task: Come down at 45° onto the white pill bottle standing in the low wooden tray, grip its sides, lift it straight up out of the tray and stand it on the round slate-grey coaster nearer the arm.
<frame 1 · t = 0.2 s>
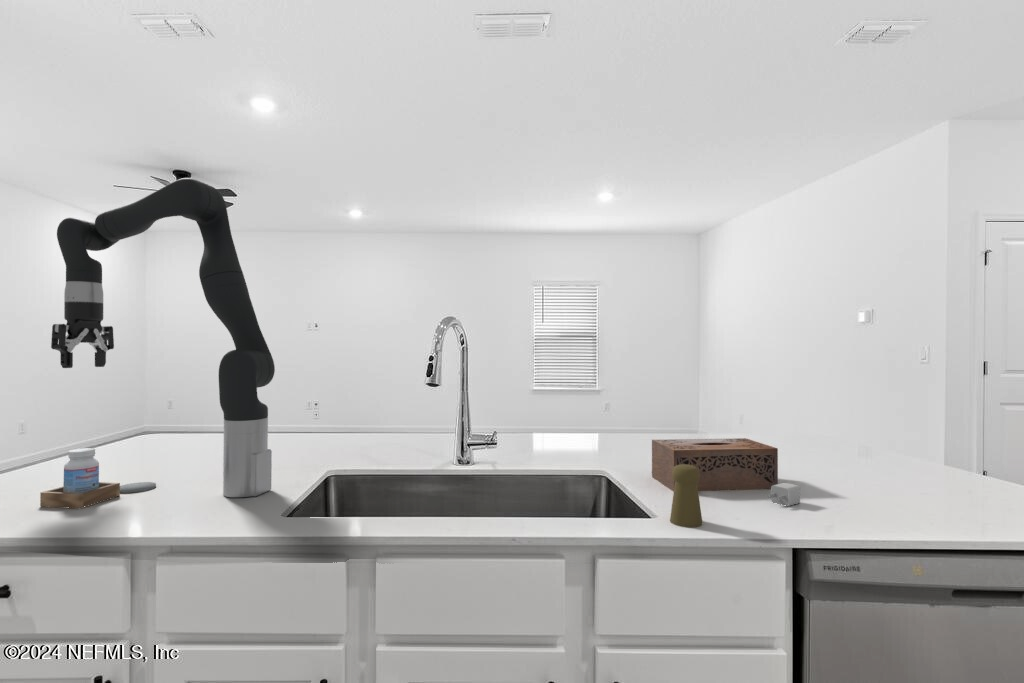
hand: (84, 367, 132), 29 cm above the table, tool pointing down, fingers open, 8 cm apart
pill bottle: (81, 502, 118), resting in wooden tray
tissue box cover: (712, 484, 135), on the table
wooden tray: (81, 501, 118), on the table
slate coaster: (135, 488, 128), on the table
cork: (686, 523, 105), on the table
usb wall charger: (782, 505, 117), on the table
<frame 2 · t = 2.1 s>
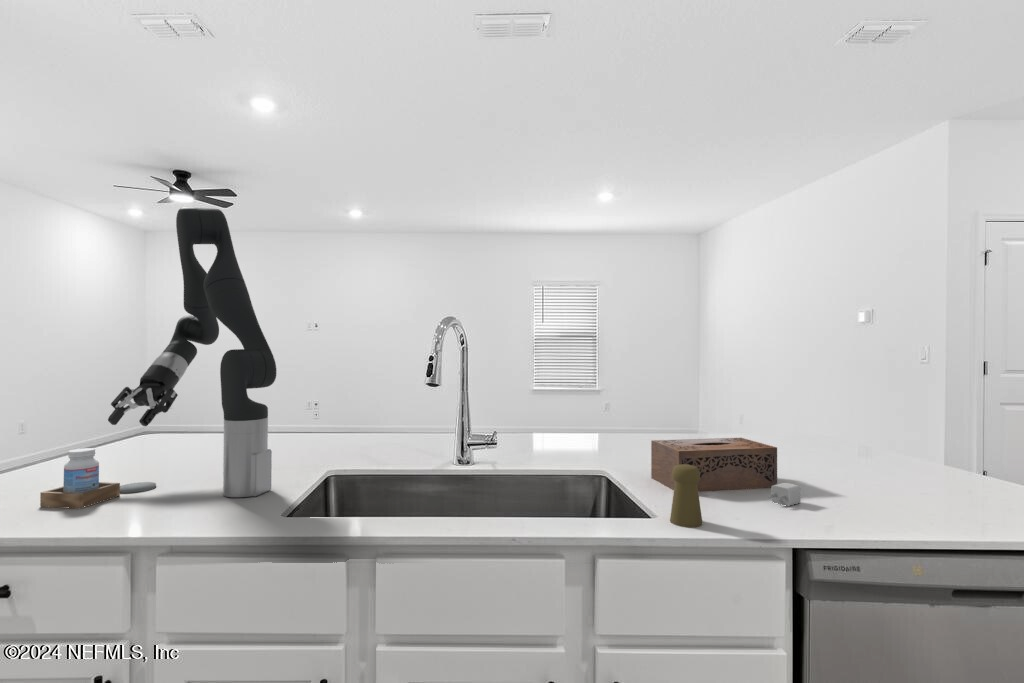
hand: (126, 423, 130), 15 cm above the table, tool tilted 45°, fingers open, 8 cm apart
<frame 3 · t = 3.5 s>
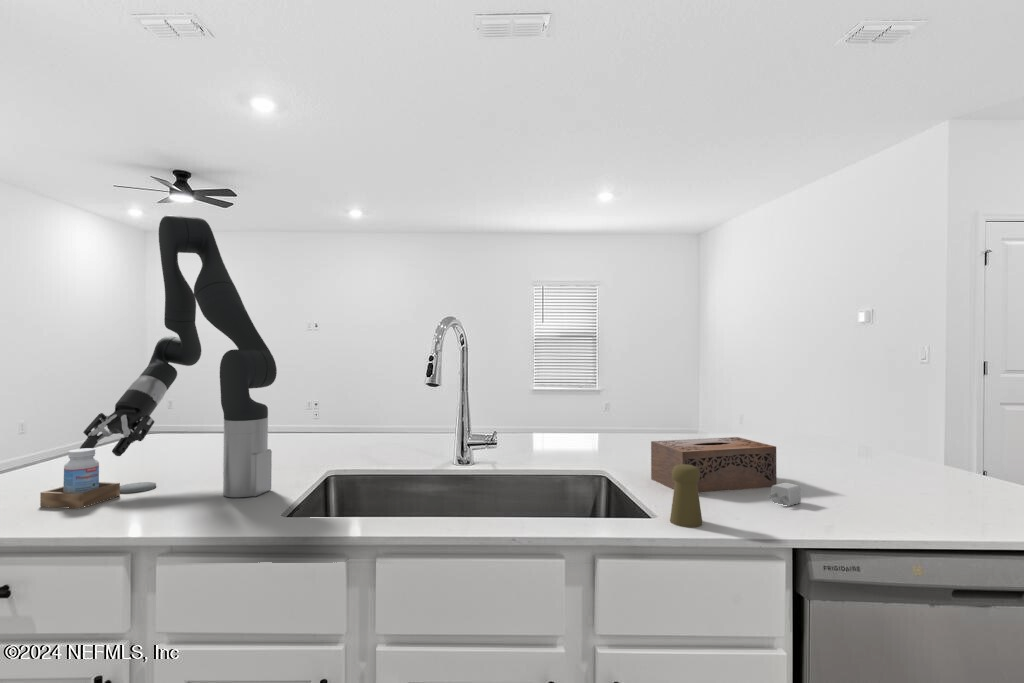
hand: (99, 453, 122), 10 cm above the table, tool tilted 45°, fingers open, 8 cm apart
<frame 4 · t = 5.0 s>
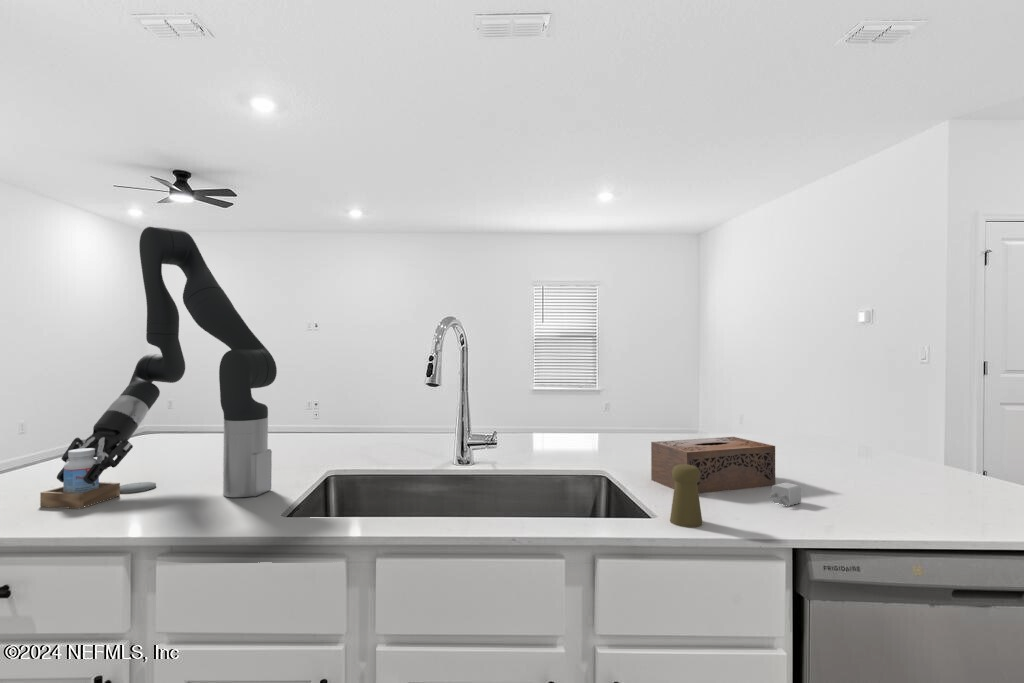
hand: (74, 481, 116), 5 cm above the table, tool tilted 45°, fingers closed on pill bottle, 6 cm apart
pill bottle: (81, 502, 118), resting in wooden tray, touching gripper
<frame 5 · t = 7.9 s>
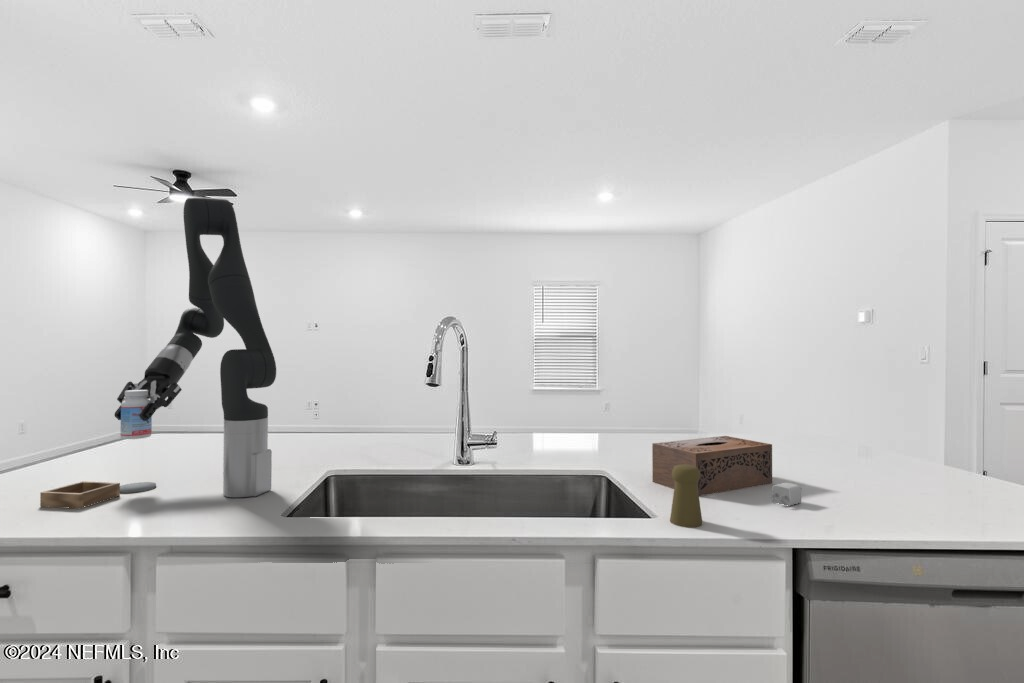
hand: (130, 418, 127), 17 cm above the table, tool tilted 45°, fingers closed on pill bottle, 6 cm apart
pill bottle: (136, 438, 129), point 12 cm above the table, touching gripper
when the fingers open (6 cm above the table, at t = 10.4 s): pill bottle stays where it is, resting on slate coaster.
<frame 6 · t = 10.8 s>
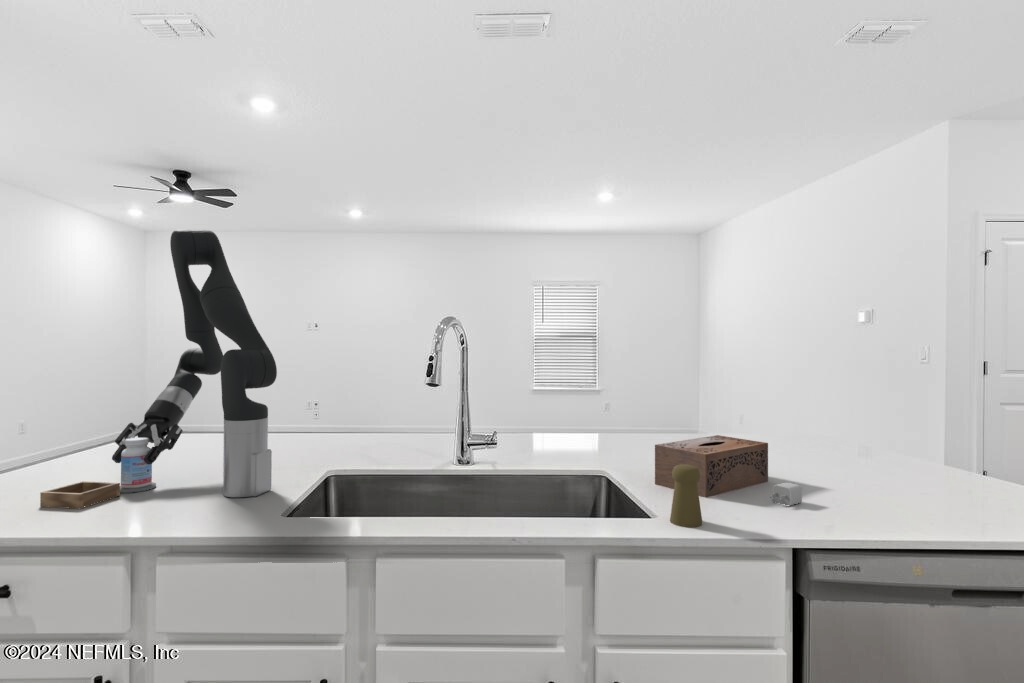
hand: (131, 461, 127), 7 cm above the table, tool tilted 45°, fingers open, 8 cm apart
pill bottle: (136, 486, 129), resting on slate coaster
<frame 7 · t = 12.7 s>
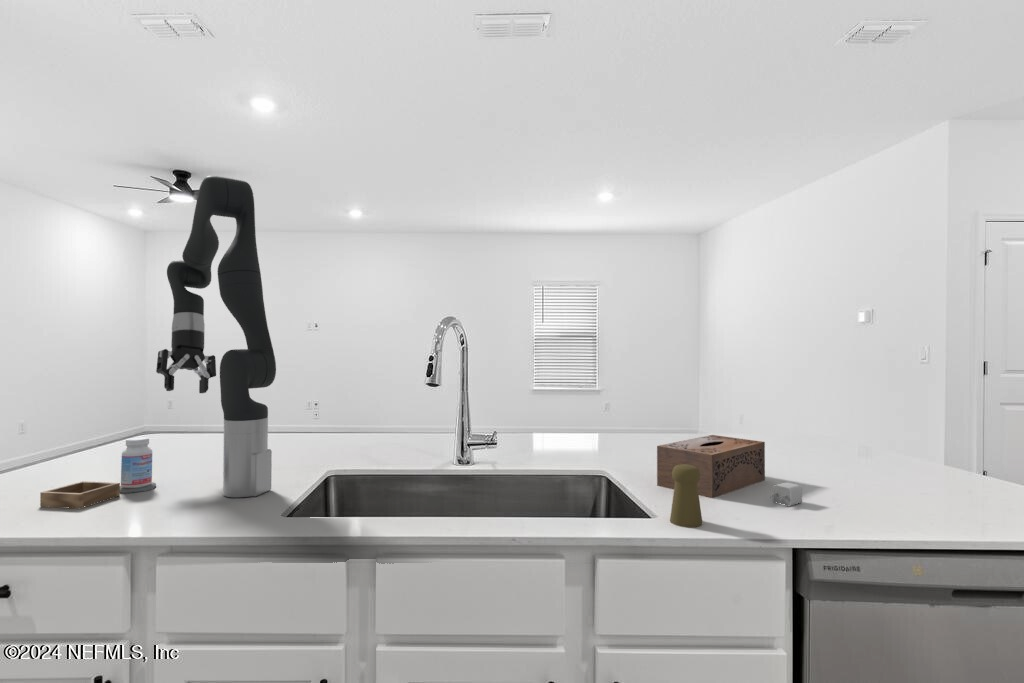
hand: (186, 391, 141), 22 cm above the table, tool pointing down, fingers open, 8 cm apart
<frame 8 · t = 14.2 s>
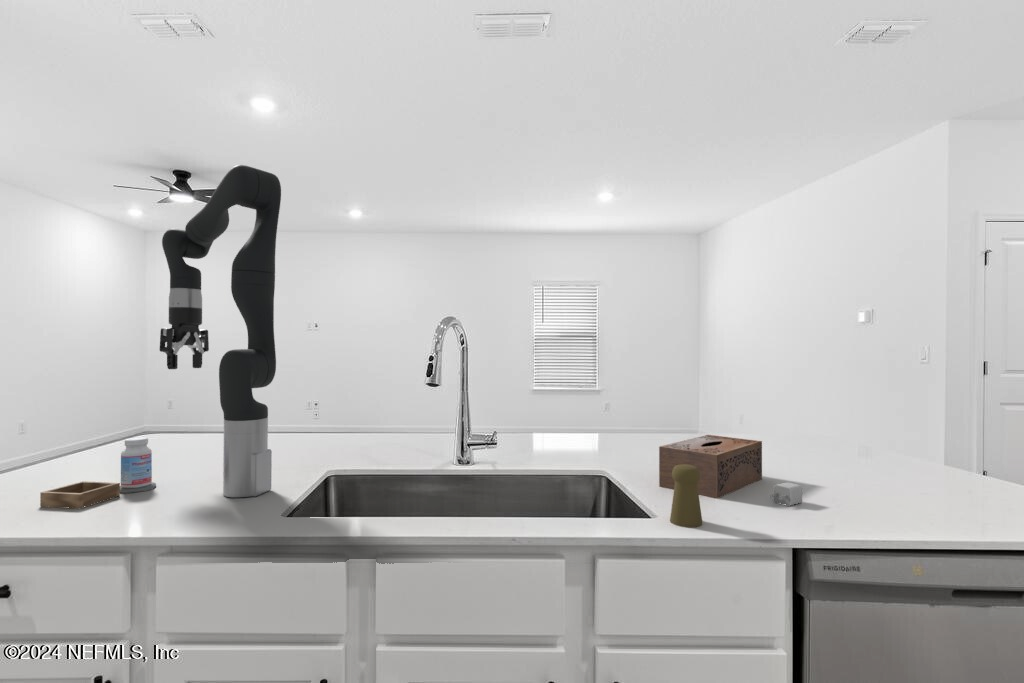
hand: (185, 368, 141), 28 cm above the table, tool pointing down, fingers open, 8 cm apart
at the end: pill bottle inside the target area on the slate coaster (0.2 cm from its centre), point 0.4 cm above the slate coaster's base; pill bottle tilted 1°; the gripper is holding nothing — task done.
